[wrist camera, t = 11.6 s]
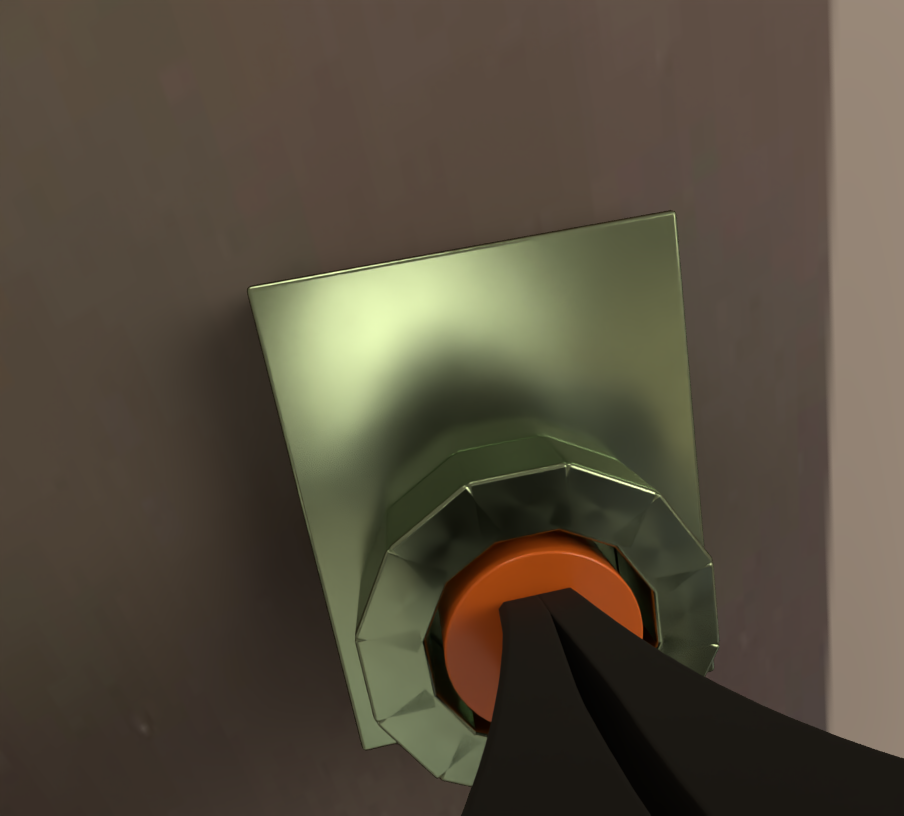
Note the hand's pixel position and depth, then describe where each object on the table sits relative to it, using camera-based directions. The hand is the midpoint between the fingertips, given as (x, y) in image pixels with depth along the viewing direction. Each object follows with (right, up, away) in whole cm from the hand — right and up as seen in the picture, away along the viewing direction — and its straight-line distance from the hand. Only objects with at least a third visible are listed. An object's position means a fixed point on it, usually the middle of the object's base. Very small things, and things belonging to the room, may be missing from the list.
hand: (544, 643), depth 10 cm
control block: (-1, +3, +3) cm, 4 cm away
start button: (0, 0, +2) cm, 2 cm away
